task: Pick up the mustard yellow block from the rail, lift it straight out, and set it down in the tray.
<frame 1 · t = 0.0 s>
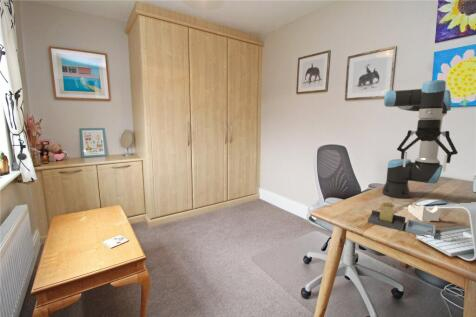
hand: (423, 168, 102), 28 cm above the table, fingers open, 13 cm apart
mustard yellow block: (386, 222, 112), resting in rail
tray: (420, 230, 104), on the table
rail: (386, 222, 112), on the table
bracket: (422, 217, 119), on the table
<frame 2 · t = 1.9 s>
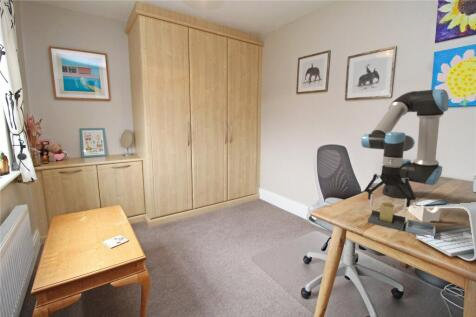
hand: (387, 209, 111), 7 cm above the table, fingers open, 13 cm apart
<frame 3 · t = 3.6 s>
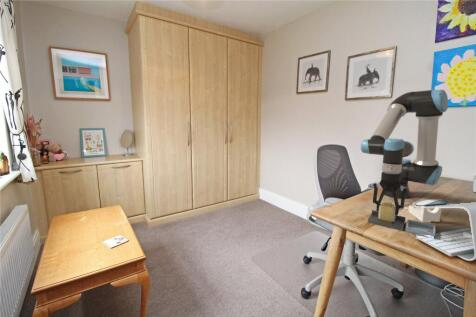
hand: (386, 219, 112), 2 cm above the table, fingers closed on mustard yellow block, 5 cm apart
mustard yellow block: (386, 222, 112), resting in rail, touching gripper
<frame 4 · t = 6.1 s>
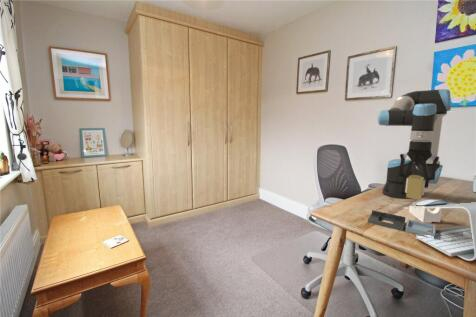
hand: (414, 193, 103), 17 cm above the table, fingers closed on mustard yellow block, 5 cm apart
mustard yellow block: (413, 197, 104), point 15 cm above the table, touching gripper
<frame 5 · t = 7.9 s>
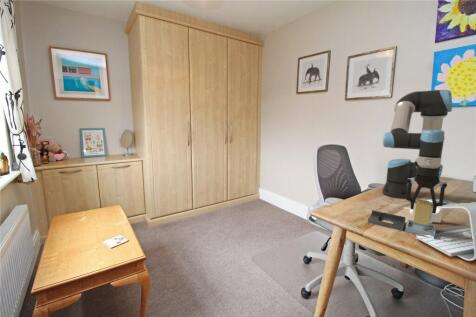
hand: (421, 217, 103), 6 cm above the table, fingers closed on mustard yellow block, 5 cm apart
mustard yellow block: (421, 221, 103), point 4 cm above the table, touching gripper
when the fingers open (4 cm above the table, at t = 9.0 s): mustard yellow block drops 1 cm, resting on tray.
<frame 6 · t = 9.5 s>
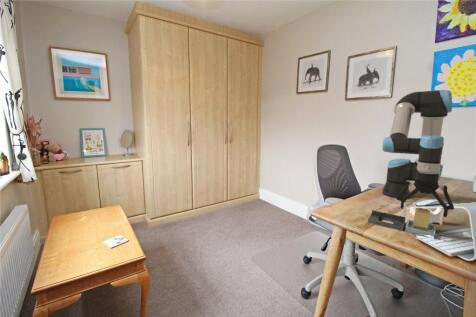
hand: (421, 219, 103), 5 cm above the table, fingers open, 12 cm apart
mustard yellow block: (420, 229, 104), resting on tray
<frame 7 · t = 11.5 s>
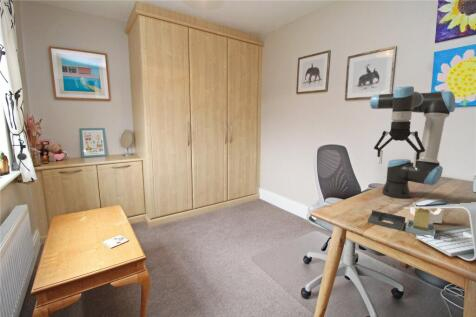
hand: (396, 165, 114), 27 cm above the table, fingers open, 13 cm apart
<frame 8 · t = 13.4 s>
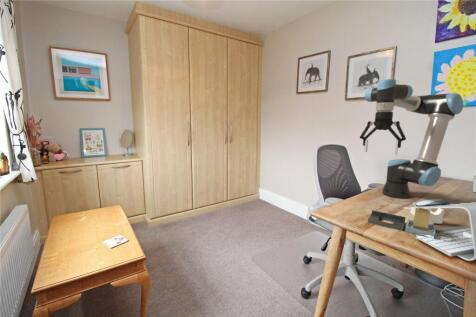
hand: (380, 153, 121), 32 cm above the table, fingers open, 13 cm apart
at the end: mustard yellow block inside the target area on the tray (0.0 cm from its centre), point 0.5 cm above the tray's base; mustard yellow block moved 13.0 cm from its start; the gripper is holding nothing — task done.
